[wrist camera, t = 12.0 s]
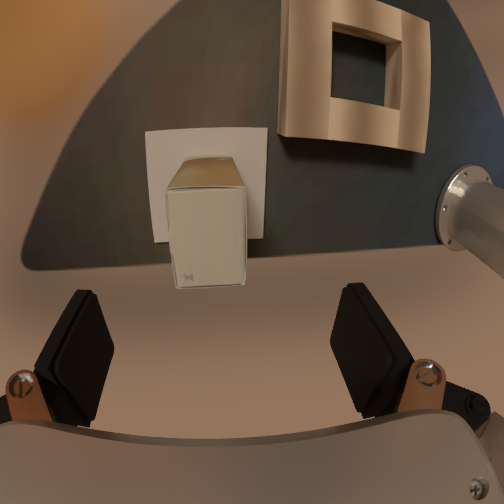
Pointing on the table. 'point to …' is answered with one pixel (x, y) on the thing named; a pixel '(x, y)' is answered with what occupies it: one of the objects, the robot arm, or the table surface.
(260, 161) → the mat
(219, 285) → the skincare box
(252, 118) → the table surface
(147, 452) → the robot arm
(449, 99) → the table surface
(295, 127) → the holder
